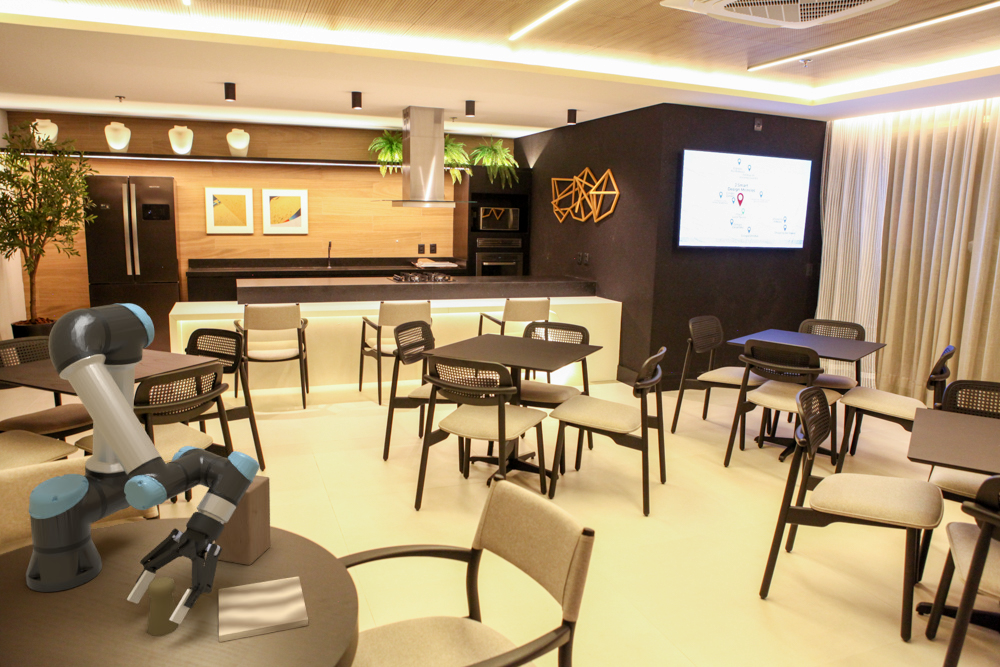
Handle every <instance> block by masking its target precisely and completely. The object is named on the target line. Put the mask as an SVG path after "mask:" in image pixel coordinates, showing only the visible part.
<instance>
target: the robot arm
mask: <svg viewBox="0 0 1000 667" xmlns="http://www.w3.org/2000/svg"><path fill="white" fill-rule="evenodd" d="M154 326H155V325H154V323H153V320H152V319H151V317H150V315H148V314H147V312H146V310H144V309H143V308H142V307H141V306H139V305H137V304H135V303H129V302H128V303H113V304H107V305H100V306H94V307H88V308H87V307H86V308H77V309H73V310H70V311H68V312H66V313H64V314H63V315H61V316H60V317H59V318H58V319H57V320H56V322H55V323H54V324H53V326H52V328H51V330H50V333H49V337H48V353H49V358H50V362H51V364H52V365H53V367H54V370H55V371H56V373H57V375H58V377H59V378H60V379H62V380H65V381H68V382H69V384H70V385H71V387H72V389H73V390H74V391H75V394H76V396H78V399H79V400H80V401H81V403H82V405H83V407H84V408H85V410H86V412H87V413H88V414H89V416H90V418H91V419H92V422H93V425H92V455H91V456H90V457H89V458H88V459H87V460H86V461H85V463H84V474H79V473H67V474H63V475H56V476H54V477H51V478H47V479H46V480H43V481H42V482H40V483H38V484H37V485H36V486H35V487H34V488H33V490H31V492H30V494H29V499H28V500H29V504H28V514H29V517H30V518H29V519H30V520H29V521H30V529H31V542H32V553H31V556H30V560H29V563H28V567H27V570H26V573H25V577H26V585H27V587H28V588H29V589H30V590H33V591H35V592H40V593H41V592H44V593H51V592H52V593H53V592H60V591H66V590H69V589H73V588H75V587H79V586H82V585H83V584H86V583H88V582H90V581H91V580H94V579H95V577H97V576H98V575H99V574H100V572H101V570H102V568H103V567H102V565H103V564H102V557H101V555H100V553H99V551H98V549H97V547H96V545H95V543H94V541H93V539H92V528H91V527H92V526H91V525H92V524H95V523H96V522H98V521H101V520H102V519H104V518H106V517H108V516H110V515H113V514H116V513H117V512H119V511H122V510H125V509H127V508H130V506H131V507H132V508H133V509H136V510H138V511H145V510H148V509H151V508H153V507H155V506H158V505H162V504H163V503H165V502H166V501H168V500H170V499H172V498H174V497H176V496H178V495H180V494H182V493H185V492H187V491H189V490H191V489H193V488H195V487H197V486H200V485H201V486H203V487H205V488H208V489H207V491H206V493H205V494H204V496H203V497H202V499H201V501H200V502H199V503H198V505H197V506H196V511H195V512H193V513H192V515H191V516H190V517H189V520H188V521H187V523H186V524H185V527H186V530H185V531H184V532H183V531H181V530H179V529H177V528H173V529H172V530H171V532H170V533H169V535H168V536H167V537H166V538H165V539H163V540H162V541H161V542H160V543H159V544H158V545H156V546H155V547H154V548H153V549H152V550H151V551H150V552H148V553H147V554H146V555H145V556H144V557H143V558H142V559H140V562H139V563H140V565H142V567H143V570H142V572H141V573H140V574H139V575H138V576H139V577H138V578H137V580H136V581H135V585H134V587H133V588H132V590H131V592H130V593H129V595H128V596H127V598H126V600H127V601H129V602H132V603H134V604H139V602H140V601H141V600H142V598H143V597H144V595H145V593H146V591H148V586H149V584H150V582H151V581H153V580H154V578H155V577H156V576H157V571H158V570H160V569H162V568H164V567H165V566H166V565H168V564H169V563H171V562H173V561H175V560H176V559H177V558H182V557H185V558H186V559H187V558H188V559H190V561H191V586H190V587H189V588H187V589H186V591H185V592H184V594H183V595H182V597H181V599H180V601H179V602H178V604H177V606H175V608H176V609H175V611H174V612H173V614H172V616H171V617H170V619H169V620H171V621H173V622H175V623H178V624H179V625H181V624H182V622H183V620H184V618H185V617H186V615H187V614H188V611H189V610H190V609H192V608H193V607H194V605H195V604H196V602H197V601H198V599H199V597H200V595H201V594H205V593H207V594H210V593H211V592H212V590H213V586H214V580H215V576H216V570H217V565H218V561H219V560H218V557H219V555H220V553H221V551H222V548H221V547H220V546H218V545H216V544H215V540H217V539H218V538H219V536H220V534H221V533H222V531H223V529H224V528H225V527H224V525H223V524H224V523H227V522H228V521H229V519H230V517H231V516H232V514H233V512H234V511H235V509H236V507H237V505H238V503H239V502H240V500H241V499H242V497H243V495H244V494H245V492H246V491H247V489H248V487H249V486H250V484H251V483H252V482H253V479H254V477H255V475H257V474H258V471H259V469H260V464H259V462H258V461H257V459H255V458H253V457H251V455H248V454H246V453H244V452H242V451H236V450H234V451H232V452H231V453H230V454H229V455H228V456H227V457H223V456H221V455H218V454H217V453H213V452H212V451H208V450H205V448H201V447H196V446H192V445H187V446H186V445H185V446H183V447H181V448H179V449H178V451H177V452H175V453H174V455H173V457H172V458H171V461H169V462H167V463H166V462H165V460H164V458H163V457H162V456H161V454H160V453H159V451H158V449H157V447H156V446H155V444H154V443H153V441H152V439H151V438H150V436H149V435H148V433H147V431H146V430H145V428H144V427H143V425H142V424H141V422H140V420H139V418H138V416H137V415H136V413H135V412H134V401H135V376H136V373H135V372H136V367H137V365H139V364H140V363H141V362H142V360H143V350H144V349H146V348H148V347H149V346H150V345H151V344H152V343H153V341H154V338H155V328H154Z"/></svg>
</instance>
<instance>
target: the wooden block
mask: <svg viewBox="0 0 1000 667" xmlns="http://www.w3.org/2000/svg"><path fill="white" fill-rule="evenodd" d="M270 487H271V486H270V477H269V476H263V475H257V474H256V475H255V477H254V479H253V482H252V483H251V484H250V486H249V487H248V489H247V491H246V492H245V494H244V495H243V497H242V499H241V500H240V502H239V503H238V505H237V507H236V509H235V511H234V512H233V514H232V516H231V517H230V519H229V521H228V522H227V523H224V524H223V525H224V527H225V528H224V529H223V531H222V533H221V534H220V536H219V538H218V539H217V540H215V541H214V544H216V545H218V546H220V547H221V548H222V551H221V553H220V555H219V557H218V561H224V562H229V563H236V564H240V565H241V564H242V565H246V566H251V565H252V564H253V563H255V562H256V561H257V559H258V558H260V557H261V555H263V554H264V553H265V552H266V551H267V550H269V549H270V547H271V502H270V501H271V497H270V494H271V492H270V491H271V490H270V489H271V488H270Z"/></svg>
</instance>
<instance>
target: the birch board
mask: <svg viewBox="0 0 1000 667" xmlns="http://www.w3.org/2000/svg"><path fill="white" fill-rule="evenodd" d="M306 626H309V618H308V613H307V608H306V603H305V597H304V594H303V590H302V583H301V580H300V576H293V577H287V578H280V579H274V580H273V579H272V580H267V581H260V582H254V583H250V584H249V583H248V584H243V585H237V586H230V587H225V588H218V643H222V642H228V641H232V640H238V639H243V638H247V637H254V636H258V635H259V636H260V635H264V634H270V633H274V632H281V631H285V630H291V629H296V628H301V627H302V628H303V627H306Z"/></svg>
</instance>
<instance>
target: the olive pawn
mask: <svg viewBox="0 0 1000 667" xmlns="http://www.w3.org/2000/svg"><path fill="white" fill-rule="evenodd" d="M175 583H176V582H175V581H174V579H173V578H172V577H170V576H160V577H156V578H155V579H153V580H152V581H151V582H150V584H149V586H148V588H147V595H148V597H149V598H150V601H149V602H150V605H149V613H148V620H147V621H148V622H147V633H148V635H150V636H153V637H162V636H166V635H169V634H172V633H173V632H174V631H176V630H177V629H178V627H179V625H180V624H178V623H175V622H173V621H171V620H169V619H170V617H171V616H172V614H173V612H174V611H175V609H176V604H175V598H174V595H173V594H174V592H175V589H176V584H175ZM176 628H177V629H176Z"/></svg>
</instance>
